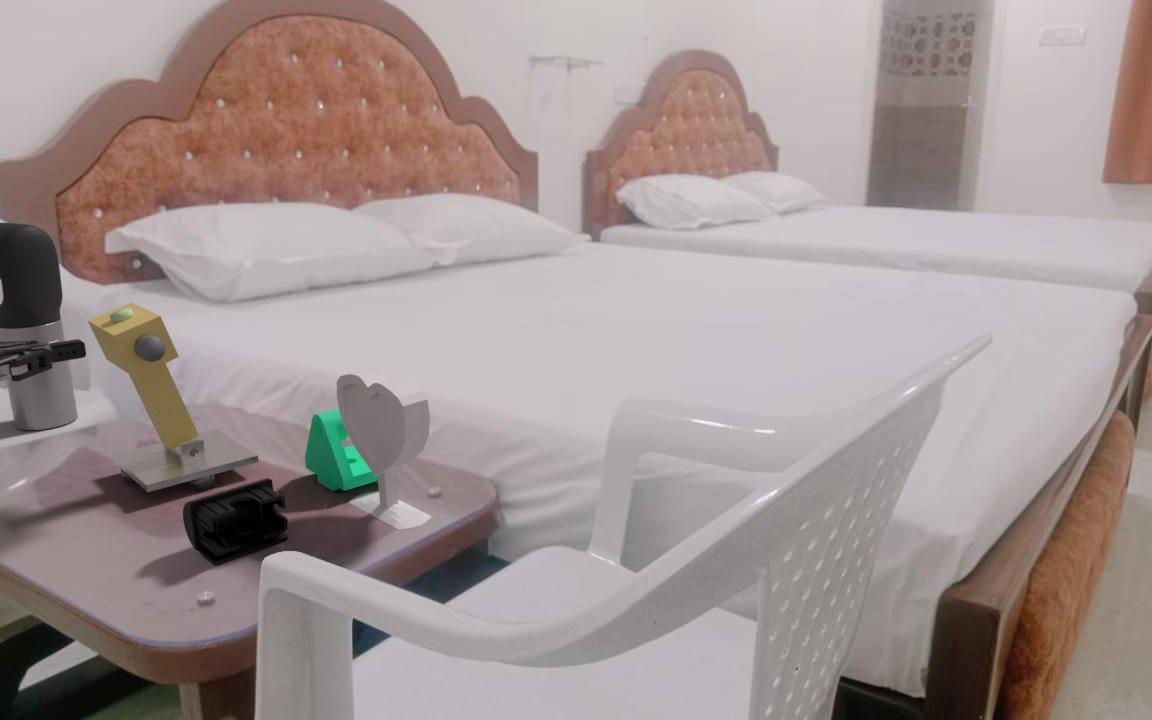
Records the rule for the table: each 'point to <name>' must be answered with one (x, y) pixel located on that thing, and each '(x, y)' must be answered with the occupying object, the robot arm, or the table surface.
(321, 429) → the camera mount
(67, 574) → the table surface
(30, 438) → the table surface
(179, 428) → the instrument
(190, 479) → the grey metal base plate
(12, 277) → the robot arm
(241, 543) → the end cap
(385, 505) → the heart sculpture
